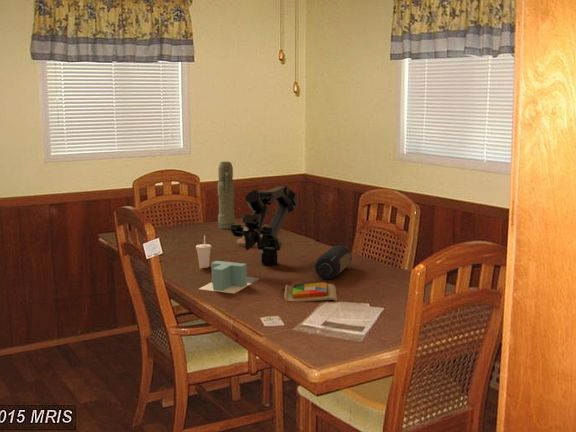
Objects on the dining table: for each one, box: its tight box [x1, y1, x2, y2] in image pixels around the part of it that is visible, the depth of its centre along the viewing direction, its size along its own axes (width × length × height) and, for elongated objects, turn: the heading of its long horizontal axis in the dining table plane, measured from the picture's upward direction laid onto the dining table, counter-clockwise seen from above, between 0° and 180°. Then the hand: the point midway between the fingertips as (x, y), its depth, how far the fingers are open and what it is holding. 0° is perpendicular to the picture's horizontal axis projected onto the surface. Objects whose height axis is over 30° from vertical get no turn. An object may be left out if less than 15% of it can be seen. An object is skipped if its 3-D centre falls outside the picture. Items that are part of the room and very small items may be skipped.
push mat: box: [198, 276, 261, 294], centre depth 275 cm, size 22×15×1 cm
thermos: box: [217, 161, 236, 230], centre depth 381 cm, size 9×12×35 cm
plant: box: [235, 226, 281, 249], centre depth 346 cm, size 20×20×11 cm
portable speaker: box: [314, 244, 353, 280], centre depth 291 cm, size 25×10×10 cm, turn 160°
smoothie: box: [195, 235, 212, 270], centre depth 300 cm, size 6×6×14 cm
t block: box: [210, 260, 248, 291], centre depth 271 cm, size 11×13×8 cm
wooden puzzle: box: [283, 282, 338, 303], centre depth 263 cm, size 18×19×4 cm
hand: (246, 249), depth 287 cm, fingers closed
